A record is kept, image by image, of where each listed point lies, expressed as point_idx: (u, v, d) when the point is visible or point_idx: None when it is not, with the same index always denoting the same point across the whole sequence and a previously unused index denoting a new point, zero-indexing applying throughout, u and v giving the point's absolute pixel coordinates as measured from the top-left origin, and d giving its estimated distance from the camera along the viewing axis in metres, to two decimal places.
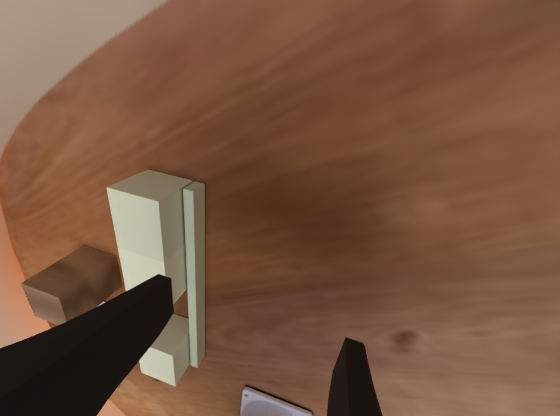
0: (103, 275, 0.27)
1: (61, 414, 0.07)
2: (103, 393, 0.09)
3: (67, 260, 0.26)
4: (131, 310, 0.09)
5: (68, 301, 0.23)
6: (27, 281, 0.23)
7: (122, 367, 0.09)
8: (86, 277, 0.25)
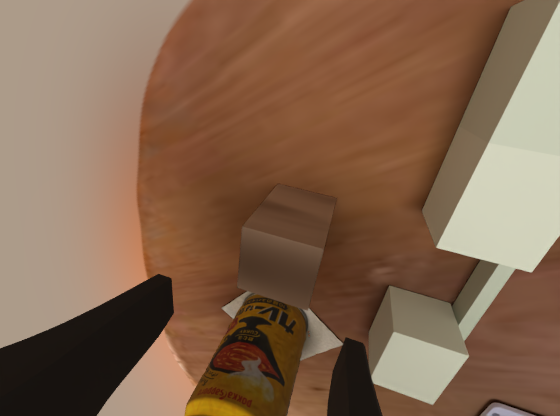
0: None
1: (61, 414, 0.07)
2: (103, 393, 0.09)
3: (275, 199, 0.16)
4: (131, 310, 0.09)
5: None
6: (249, 224, 0.13)
7: (122, 367, 0.09)
8: None
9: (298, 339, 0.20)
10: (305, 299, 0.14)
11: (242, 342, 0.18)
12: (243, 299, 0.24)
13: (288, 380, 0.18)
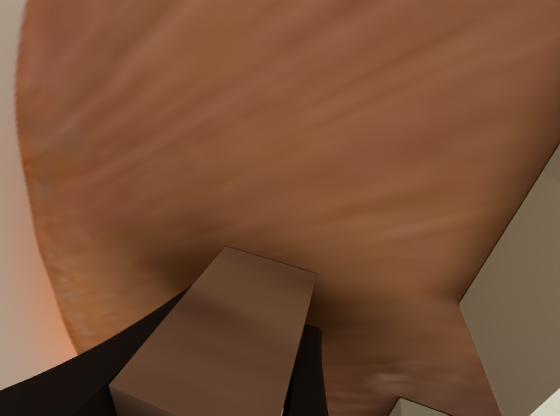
0: None
1: None
2: None
3: (209, 288, 0.09)
4: None
5: None
6: (127, 374, 0.07)
7: None
8: None
9: None
10: None
11: None
12: None
13: None
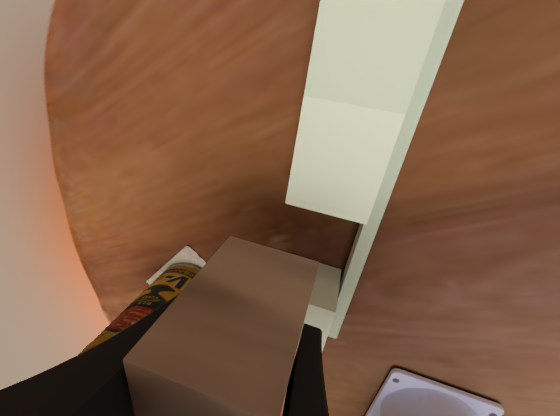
0: None
1: None
2: None
3: (216, 273, 0.10)
4: None
5: None
6: (140, 350, 0.07)
7: None
8: (301, 329, 0.08)
9: None
10: None
11: (139, 306, 0.19)
12: (164, 272, 0.24)
13: None
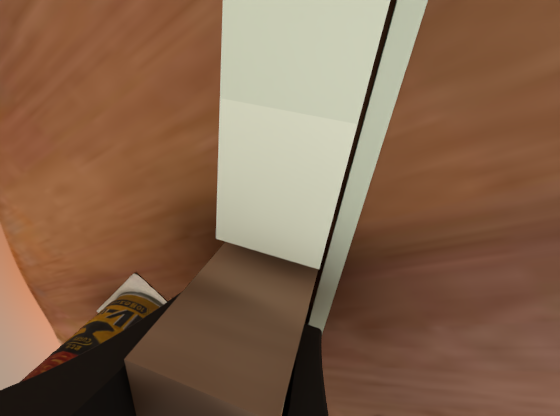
0: None
1: None
2: None
3: (216, 273, 0.10)
4: None
5: None
6: (141, 350, 0.07)
7: None
8: (302, 329, 0.08)
9: None
10: None
11: (66, 351, 0.16)
12: (114, 301, 0.21)
13: None
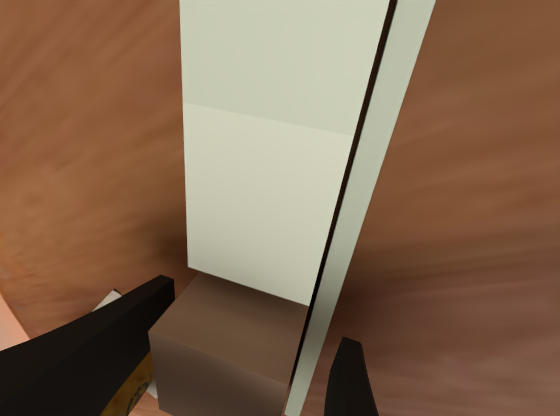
0: None
1: (64, 415, 0.07)
2: (106, 394, 0.09)
3: None
4: (134, 311, 0.09)
5: None
6: (163, 324, 0.08)
7: (125, 368, 0.09)
8: None
9: None
10: None
11: None
12: None
13: None
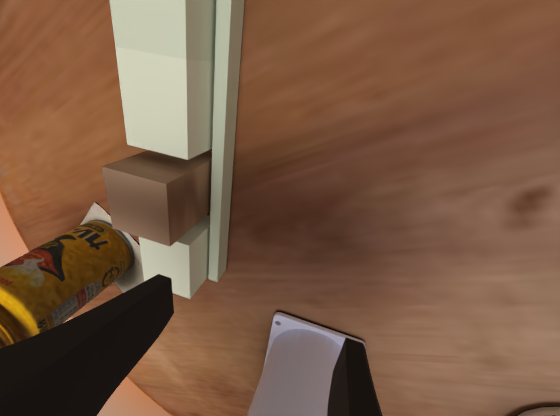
0: (207, 178, 0.18)
1: (61, 414, 0.07)
2: (104, 393, 0.09)
3: (156, 152, 0.18)
4: (131, 310, 0.09)
5: (174, 198, 0.15)
6: (110, 165, 0.15)
7: (122, 367, 0.09)
8: (193, 169, 0.16)
9: (103, 254, 0.23)
10: (165, 235, 0.16)
11: (38, 249, 0.21)
12: None
13: (72, 279, 0.21)
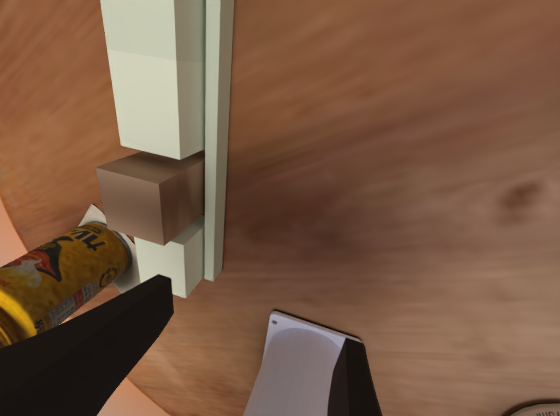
0: (201, 178, 0.18)
1: (61, 414, 0.07)
2: (104, 393, 0.09)
3: (150, 153, 0.18)
4: (131, 310, 0.09)
5: (167, 198, 0.15)
6: (103, 166, 0.15)
7: (122, 367, 0.09)
8: (187, 169, 0.16)
9: (100, 255, 0.23)
10: (159, 234, 0.16)
11: (36, 250, 0.22)
12: None
13: (69, 280, 0.21)
